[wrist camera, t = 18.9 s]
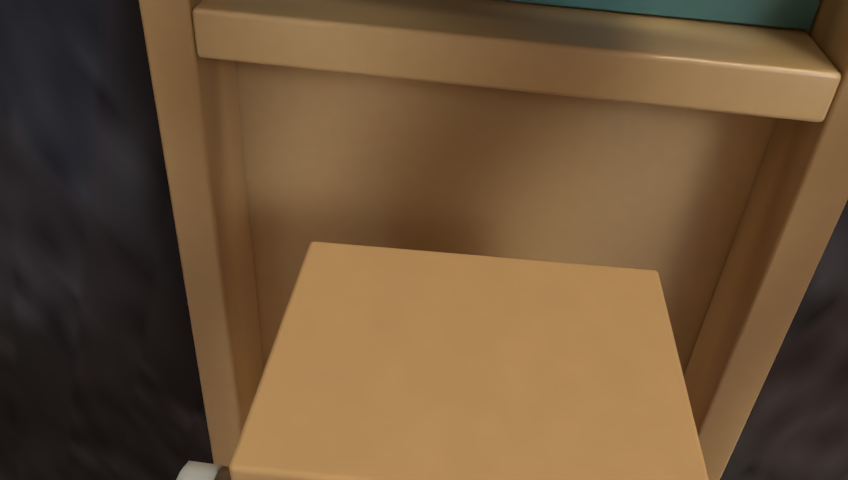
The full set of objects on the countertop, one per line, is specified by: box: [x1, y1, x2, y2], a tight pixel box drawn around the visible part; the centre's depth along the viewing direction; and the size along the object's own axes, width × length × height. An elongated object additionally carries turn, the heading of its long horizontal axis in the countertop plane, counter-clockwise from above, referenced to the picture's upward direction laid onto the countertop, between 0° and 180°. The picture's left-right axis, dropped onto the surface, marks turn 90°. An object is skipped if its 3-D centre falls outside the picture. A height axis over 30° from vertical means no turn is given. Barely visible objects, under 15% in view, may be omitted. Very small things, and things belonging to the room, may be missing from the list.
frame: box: [139, 0, 848, 480], centre depth 12 cm, size 11×21×2 cm, turn 177°
